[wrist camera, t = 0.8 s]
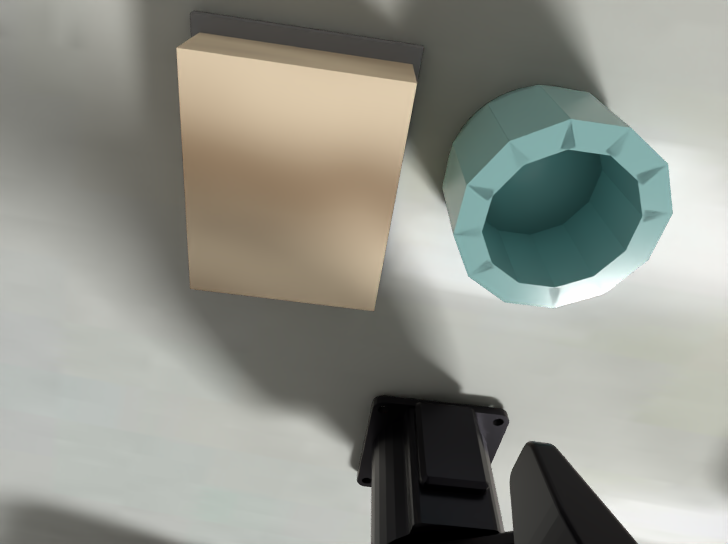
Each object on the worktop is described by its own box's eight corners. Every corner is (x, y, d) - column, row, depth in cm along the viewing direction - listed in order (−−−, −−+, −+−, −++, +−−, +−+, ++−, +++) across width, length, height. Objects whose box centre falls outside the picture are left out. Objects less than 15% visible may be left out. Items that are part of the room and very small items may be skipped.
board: (374, 276, 21) (373, 311, 19) (206, 255, 20) (190, 288, 19) (412, 64, 16) (417, 83, 15) (199, 32, 16) (176, 47, 14)
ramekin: (579, 251, 21) (618, 316, 17) (427, 231, 20) (437, 293, 17) (647, 95, 17) (711, 139, 14) (466, 68, 17) (487, 106, 14)
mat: (378, 281, 21) (378, 287, 21) (203, 259, 21) (200, 265, 21) (422, 45, 16) (423, 48, 16) (193, 10, 16) (190, 13, 16)
